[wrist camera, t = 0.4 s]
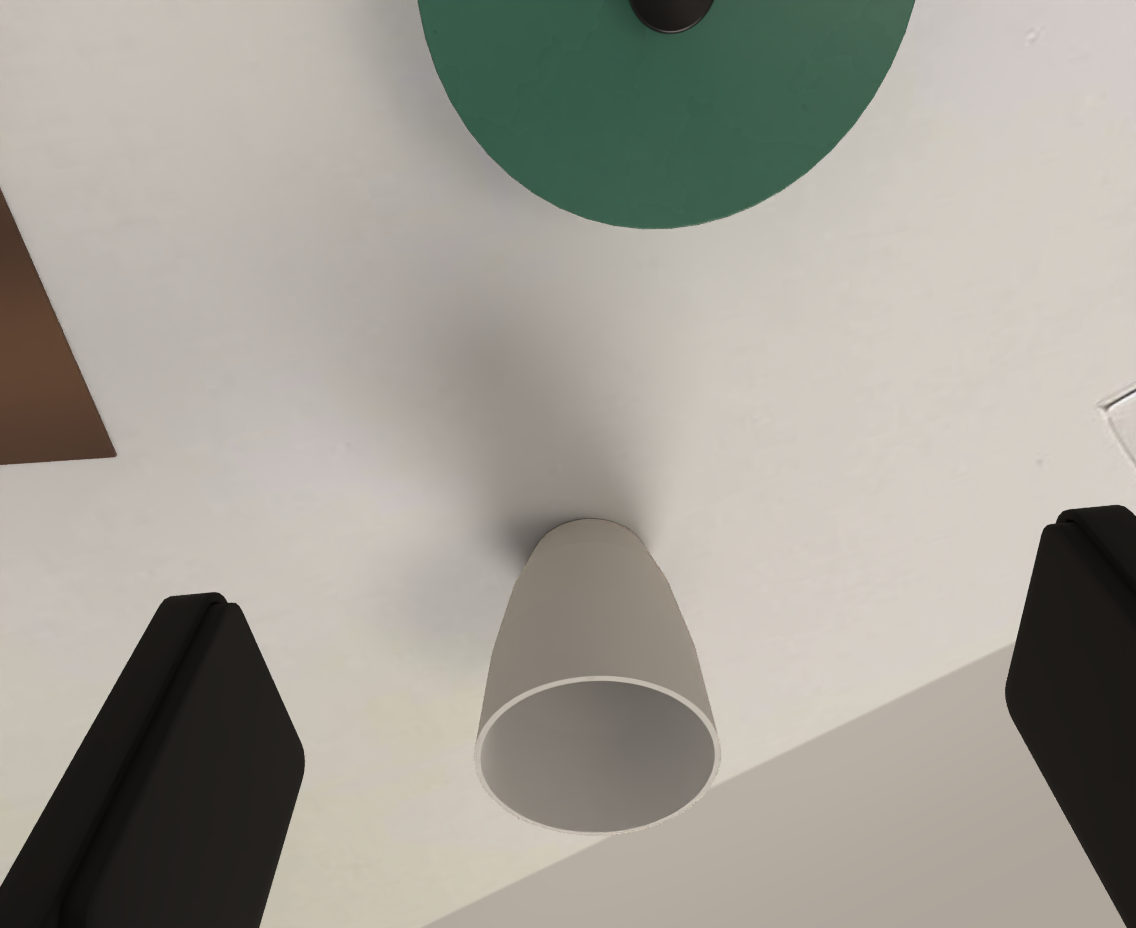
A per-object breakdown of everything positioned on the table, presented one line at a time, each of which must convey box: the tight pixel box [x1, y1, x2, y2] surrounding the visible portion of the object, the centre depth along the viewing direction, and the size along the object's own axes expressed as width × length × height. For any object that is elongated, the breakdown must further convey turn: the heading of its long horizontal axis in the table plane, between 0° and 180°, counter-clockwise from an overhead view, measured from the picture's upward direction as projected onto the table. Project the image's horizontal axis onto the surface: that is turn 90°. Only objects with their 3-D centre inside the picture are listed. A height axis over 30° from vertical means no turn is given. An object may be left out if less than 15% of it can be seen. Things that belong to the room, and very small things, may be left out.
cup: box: [474, 519, 721, 835], centre depth 32 cm, size 8×8×10 cm
